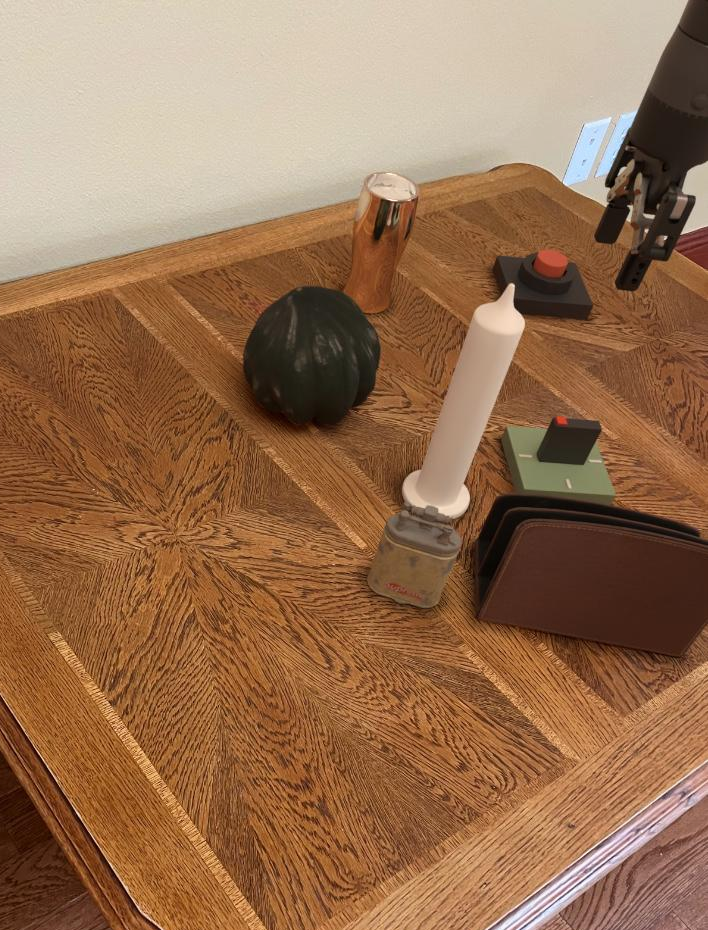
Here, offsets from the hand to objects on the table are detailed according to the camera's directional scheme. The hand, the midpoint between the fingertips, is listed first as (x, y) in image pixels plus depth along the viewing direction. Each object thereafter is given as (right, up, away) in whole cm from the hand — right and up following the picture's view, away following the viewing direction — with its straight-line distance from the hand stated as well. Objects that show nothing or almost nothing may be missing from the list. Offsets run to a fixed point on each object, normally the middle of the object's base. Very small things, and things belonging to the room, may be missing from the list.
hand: (613, 264), depth 93 cm
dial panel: (-3, -19, +10) cm, 22 cm away
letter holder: (-5, -33, -2) cm, 34 cm away
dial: (-3, -18, +8) cm, 20 cm away
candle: (-17, -23, +5) cm, 29 cm away
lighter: (-21, -32, -3) cm, 39 cm away
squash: (-30, -11, +13) cm, 34 cm away
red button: (+3, +10, +30) cm, 31 cm away
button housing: (+2, +8, +32) cm, 33 cm away
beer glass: (-21, +5, +27) cm, 35 cm away
